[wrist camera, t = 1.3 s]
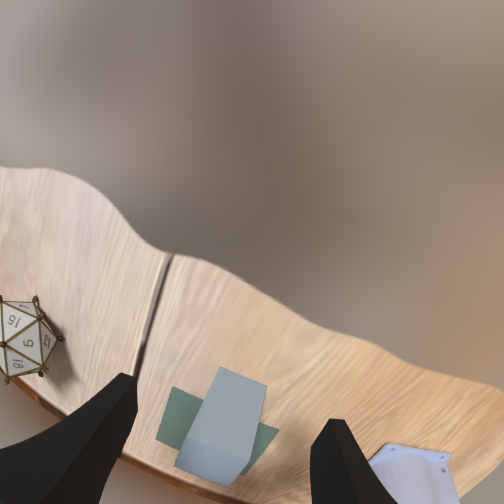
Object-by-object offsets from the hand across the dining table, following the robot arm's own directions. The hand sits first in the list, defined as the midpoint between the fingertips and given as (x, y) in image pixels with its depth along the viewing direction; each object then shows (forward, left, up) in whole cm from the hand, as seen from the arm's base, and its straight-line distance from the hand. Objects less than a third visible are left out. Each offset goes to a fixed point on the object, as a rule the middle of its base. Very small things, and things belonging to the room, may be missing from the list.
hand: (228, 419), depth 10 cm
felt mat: (-1, +15, -12) cm, 19 cm away
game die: (+19, +13, -12) cm, 26 cm away
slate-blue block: (-1, +9, -12) cm, 15 cm away
